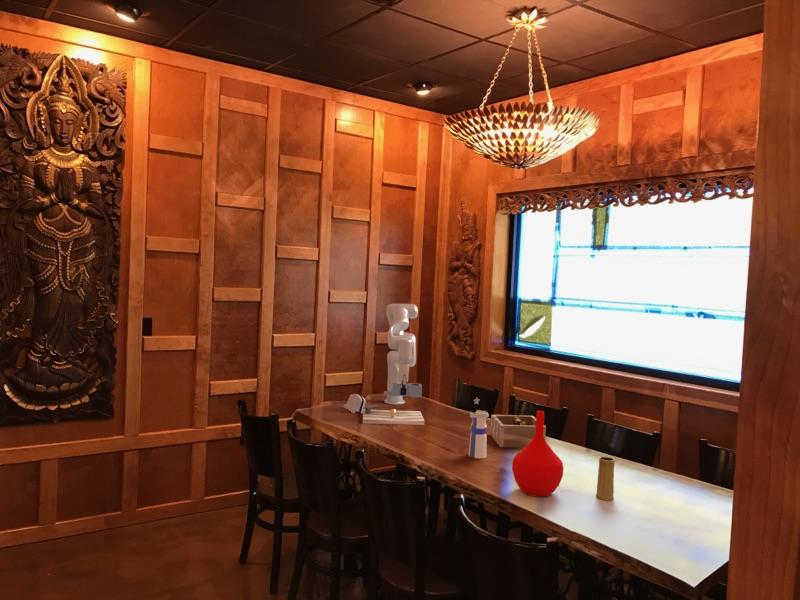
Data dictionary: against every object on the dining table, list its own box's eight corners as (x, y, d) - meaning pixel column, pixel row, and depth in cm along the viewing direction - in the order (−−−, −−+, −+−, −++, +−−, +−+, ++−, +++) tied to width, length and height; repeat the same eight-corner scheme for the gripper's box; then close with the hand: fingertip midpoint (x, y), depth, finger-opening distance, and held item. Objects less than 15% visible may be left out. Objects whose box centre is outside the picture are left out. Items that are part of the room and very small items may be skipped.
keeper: (363, 416, 334) (363, 406, 333) (374, 414, 340) (374, 404, 340) (367, 417, 331) (368, 408, 331) (379, 415, 338) (379, 405, 338)
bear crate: (490, 434, 306) (491, 414, 306) (532, 435, 307) (533, 415, 307) (500, 447, 284) (501, 425, 284) (544, 448, 285) (545, 426, 285)
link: (383, 396, 334) (384, 385, 333) (383, 393, 341) (384, 382, 340) (421, 397, 335) (422, 386, 335) (420, 394, 342) (421, 383, 342)
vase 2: (616, 500, 220) (618, 461, 219) (600, 500, 219) (602, 461, 219) (609, 494, 226) (611, 456, 225) (593, 494, 225) (595, 455, 225)
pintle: (390, 420, 327) (391, 408, 327) (395, 420, 328) (395, 408, 327) (390, 421, 325) (391, 409, 325) (395, 421, 325) (395, 409, 325)
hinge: (343, 407, 354) (349, 390, 356) (350, 409, 356) (356, 393, 358) (354, 413, 339) (360, 396, 341) (361, 416, 342) (367, 398, 343)
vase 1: (538, 505, 212) (543, 419, 211) (500, 488, 227) (504, 408, 226) (572, 495, 223) (577, 414, 222) (534, 480, 238) (538, 404, 237)
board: (363, 413, 341) (363, 409, 341) (420, 414, 343) (420, 411, 343) (362, 423, 318) (362, 419, 318) (424, 424, 320) (424, 421, 320)
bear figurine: (513, 446, 287) (515, 420, 287) (502, 437, 302) (503, 413, 302) (540, 445, 290) (542, 420, 290) (528, 437, 305) (529, 413, 304)
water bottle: (463, 455, 269) (465, 398, 268) (476, 452, 274) (479, 396, 273) (477, 459, 262) (479, 401, 262) (490, 456, 268) (493, 399, 267)
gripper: (396, 358, 345) (395, 390, 346) (398, 363, 328) (396, 397, 329) (410, 358, 345) (408, 390, 347) (412, 364, 328) (410, 397, 330)
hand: (402, 393), depth 338 cm, fingers closed on link, 4 cm apart
